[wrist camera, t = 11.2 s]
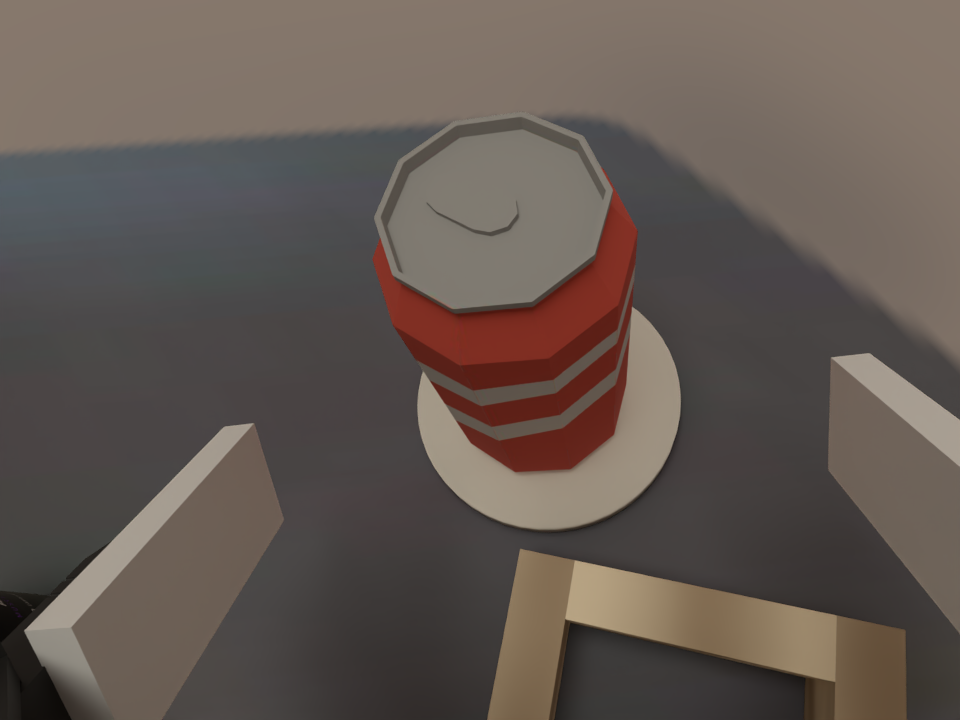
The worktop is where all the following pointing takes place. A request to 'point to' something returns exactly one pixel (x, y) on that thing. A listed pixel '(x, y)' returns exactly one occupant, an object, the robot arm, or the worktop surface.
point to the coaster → (588, 485)
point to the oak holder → (691, 638)
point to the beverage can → (512, 285)
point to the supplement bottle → (16, 609)
